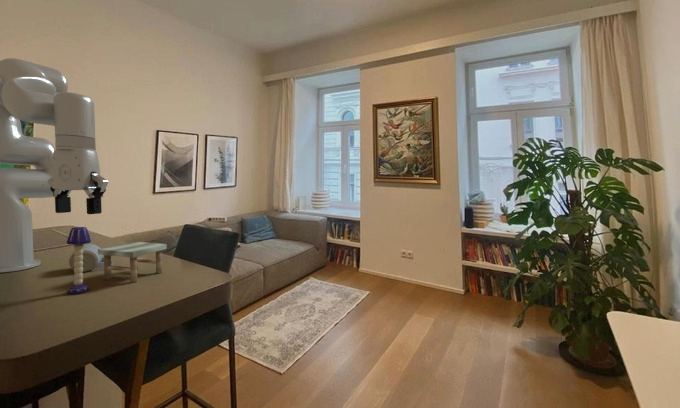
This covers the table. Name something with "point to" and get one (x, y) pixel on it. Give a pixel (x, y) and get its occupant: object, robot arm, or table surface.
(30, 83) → the robot arm
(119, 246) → the footstool
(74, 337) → the table surface
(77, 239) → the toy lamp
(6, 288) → the table surface
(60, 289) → the table surface
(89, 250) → the ceramic mug
